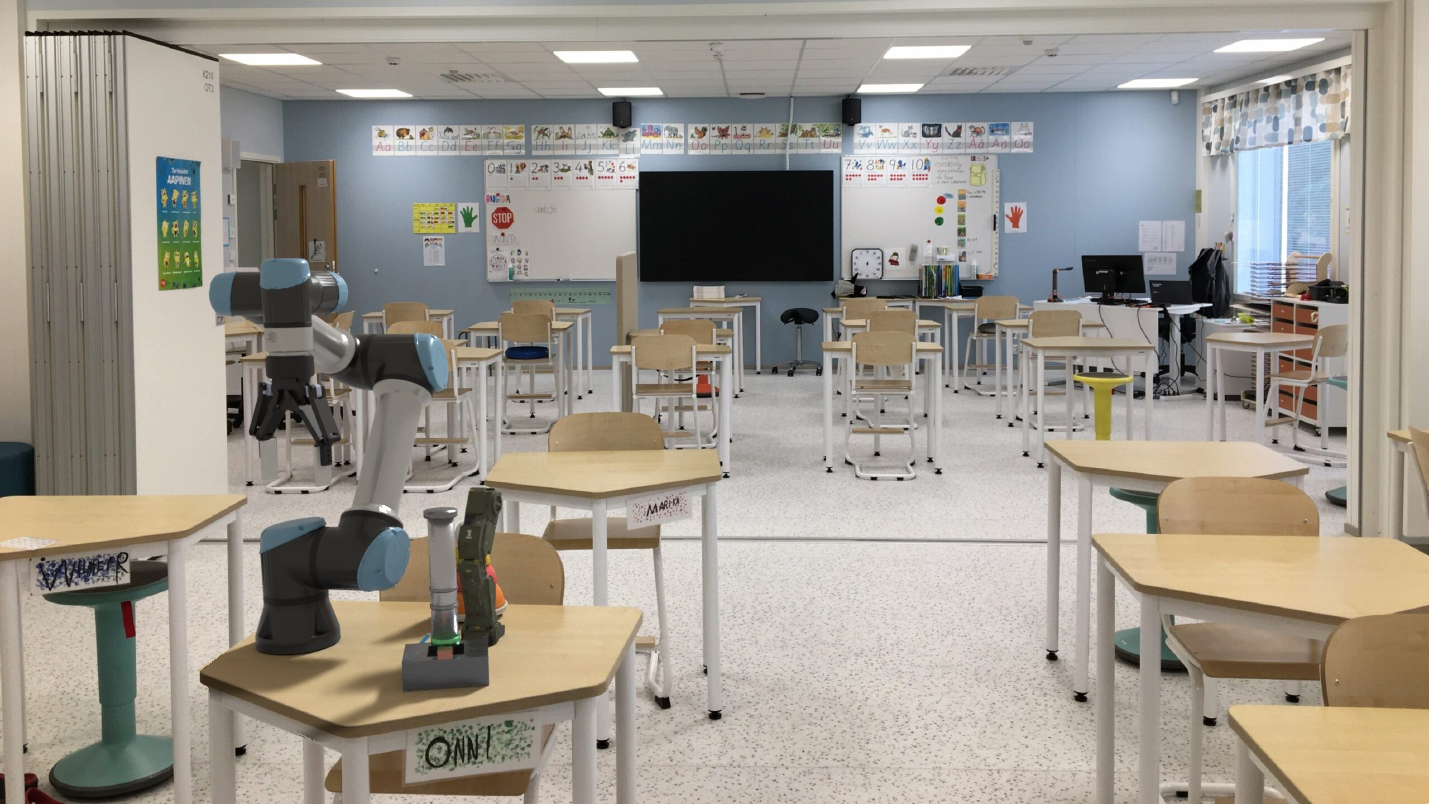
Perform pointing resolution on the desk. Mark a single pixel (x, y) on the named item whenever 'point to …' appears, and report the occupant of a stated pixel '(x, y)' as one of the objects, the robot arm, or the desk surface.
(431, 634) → the pencil
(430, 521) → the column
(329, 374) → the robot arm
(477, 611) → the mechanical leg
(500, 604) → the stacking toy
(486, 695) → the desk surface
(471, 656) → the stand
